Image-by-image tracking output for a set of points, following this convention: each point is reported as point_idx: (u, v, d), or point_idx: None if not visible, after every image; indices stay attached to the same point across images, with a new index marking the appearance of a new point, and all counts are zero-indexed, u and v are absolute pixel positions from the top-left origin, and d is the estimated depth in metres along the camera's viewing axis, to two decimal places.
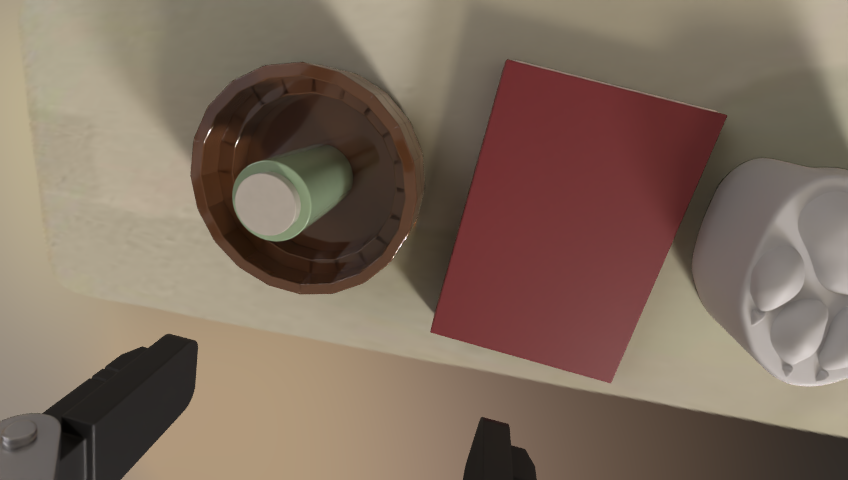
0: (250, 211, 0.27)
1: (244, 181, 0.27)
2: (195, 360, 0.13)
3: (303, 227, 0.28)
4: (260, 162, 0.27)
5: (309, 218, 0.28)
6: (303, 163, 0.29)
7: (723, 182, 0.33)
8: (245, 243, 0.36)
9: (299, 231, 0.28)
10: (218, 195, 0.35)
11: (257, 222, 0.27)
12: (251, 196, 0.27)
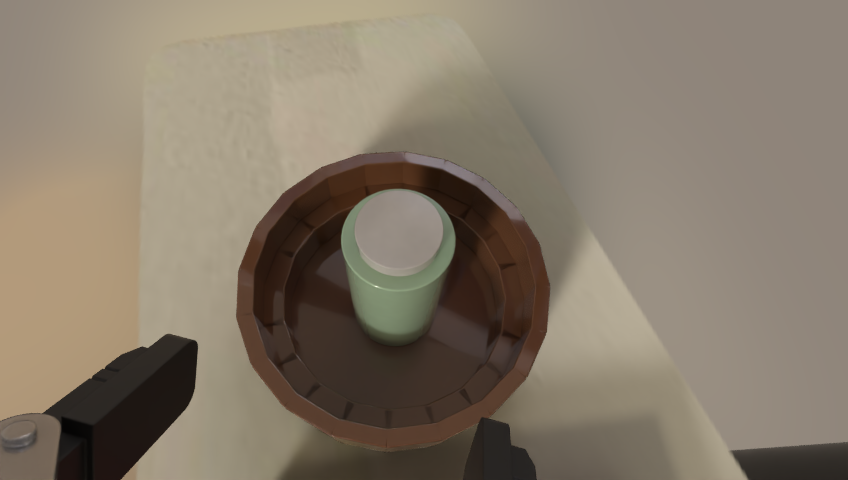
0: (382, 212, 0.20)
1: (420, 197, 0.20)
2: (195, 360, 0.13)
3: (379, 286, 0.19)
4: (445, 213, 0.21)
5: (395, 291, 0.19)
6: None
7: None
8: (285, 231, 0.27)
9: (371, 283, 0.19)
10: (338, 190, 0.28)
11: (370, 223, 0.19)
12: (404, 209, 0.20)
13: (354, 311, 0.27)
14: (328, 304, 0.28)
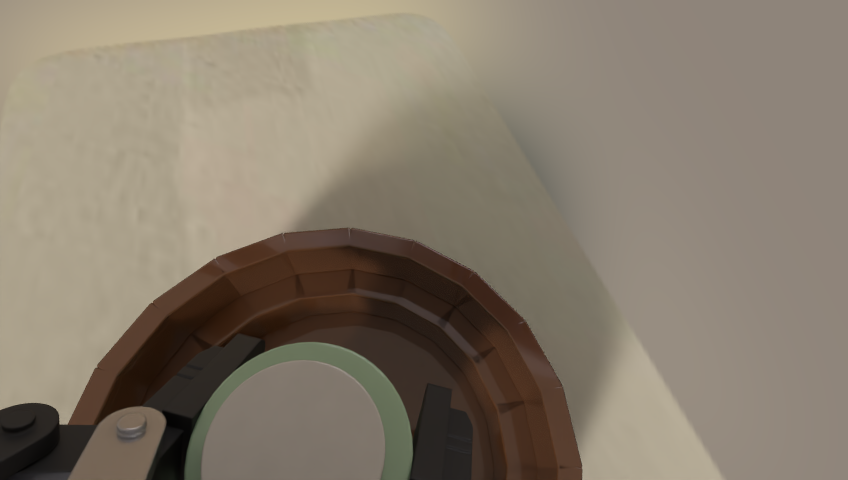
0: (262, 414, 0.10)
1: (343, 375, 0.10)
2: None
3: None
4: (395, 394, 0.11)
5: None
6: None
7: None
8: (158, 360, 0.17)
9: None
10: (251, 285, 0.18)
11: (236, 442, 0.10)
12: (308, 404, 0.10)
13: None
14: None
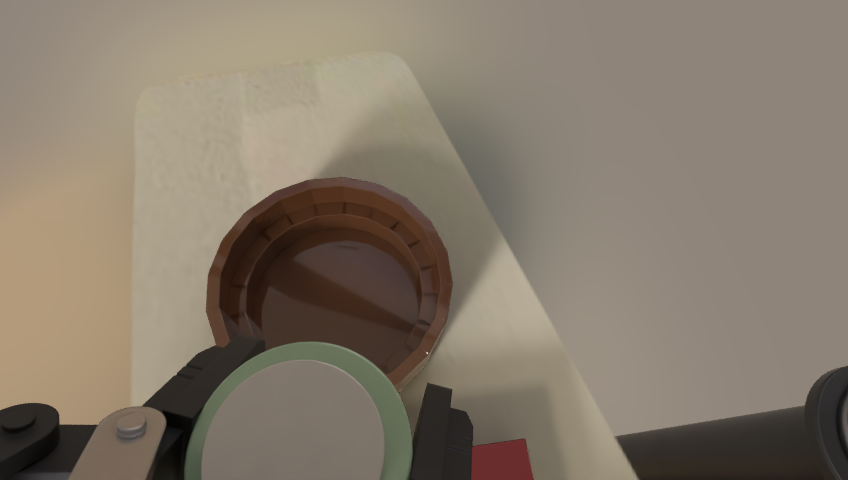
0: (262, 413, 0.10)
1: (342, 374, 0.10)
2: None
3: None
4: (394, 394, 0.11)
5: None
6: None
7: None
8: (247, 242, 0.34)
9: None
10: (291, 208, 0.35)
11: (235, 441, 0.10)
12: (307, 404, 0.10)
13: None
14: (284, 300, 0.35)
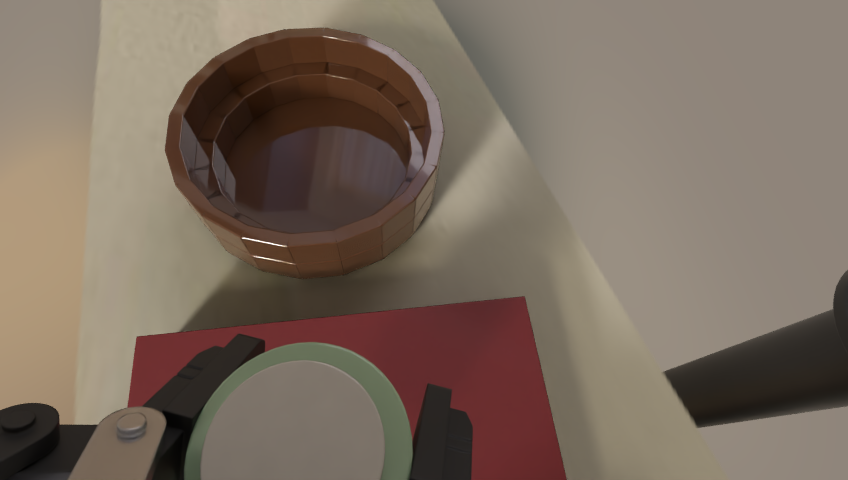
0: (261, 414, 0.10)
1: (342, 375, 0.10)
2: None
3: None
4: (395, 395, 0.11)
5: None
6: None
7: None
8: (216, 94, 0.30)
9: None
10: (267, 64, 0.32)
11: (235, 442, 0.10)
12: (307, 404, 0.10)
13: None
14: (258, 165, 0.32)
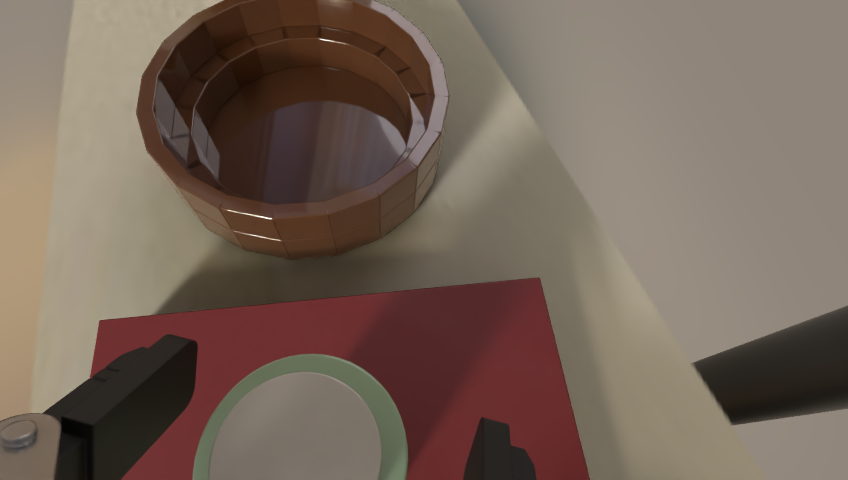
0: (266, 423, 0.10)
1: (342, 386, 0.11)
2: (195, 360, 0.13)
3: None
4: (391, 404, 0.12)
5: None
6: None
7: None
8: (197, 56, 0.27)
9: None
10: (254, 25, 0.29)
11: (241, 450, 0.10)
12: (309, 414, 0.11)
13: None
14: (244, 136, 0.29)
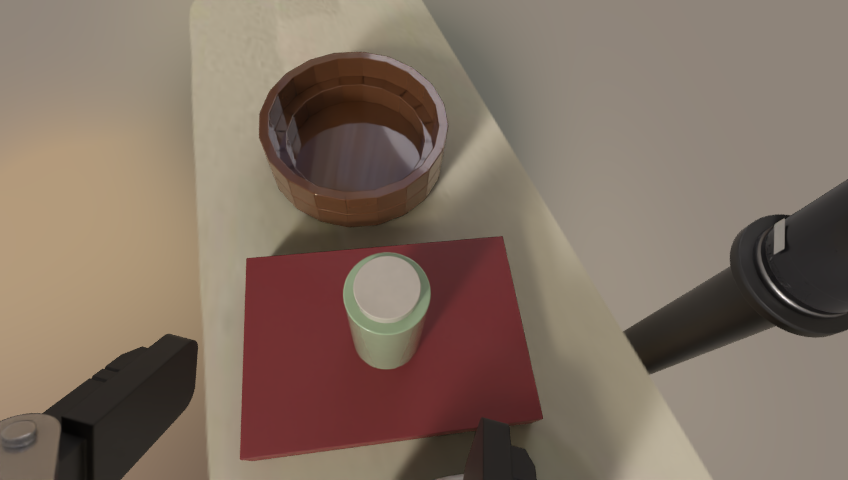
0: (374, 274, 0.26)
1: (403, 261, 0.26)
2: (195, 360, 0.13)
3: (372, 331, 0.25)
4: (423, 272, 0.27)
5: (384, 335, 0.25)
6: None
7: None
8: (287, 99, 0.43)
9: (366, 328, 0.25)
10: (321, 77, 0.44)
11: (365, 283, 0.26)
12: (391, 271, 0.26)
13: None
14: (314, 149, 0.44)
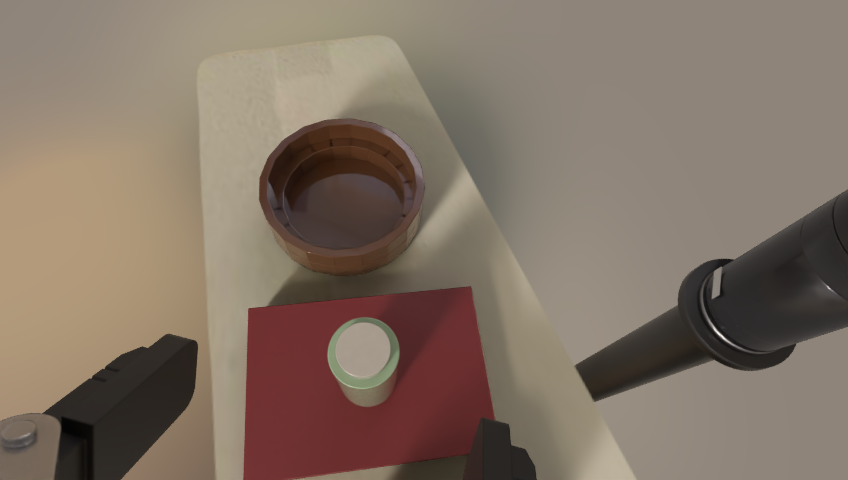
0: (352, 338, 0.32)
1: (377, 327, 0.32)
2: (195, 360, 0.13)
3: (350, 386, 0.31)
4: (393, 334, 0.33)
5: (360, 388, 0.31)
6: (397, 366, 0.34)
7: None
8: (284, 161, 0.49)
9: (345, 383, 0.31)
10: (314, 140, 0.50)
11: (345, 346, 0.31)
12: (366, 335, 0.32)
13: None
14: (308, 204, 0.50)
